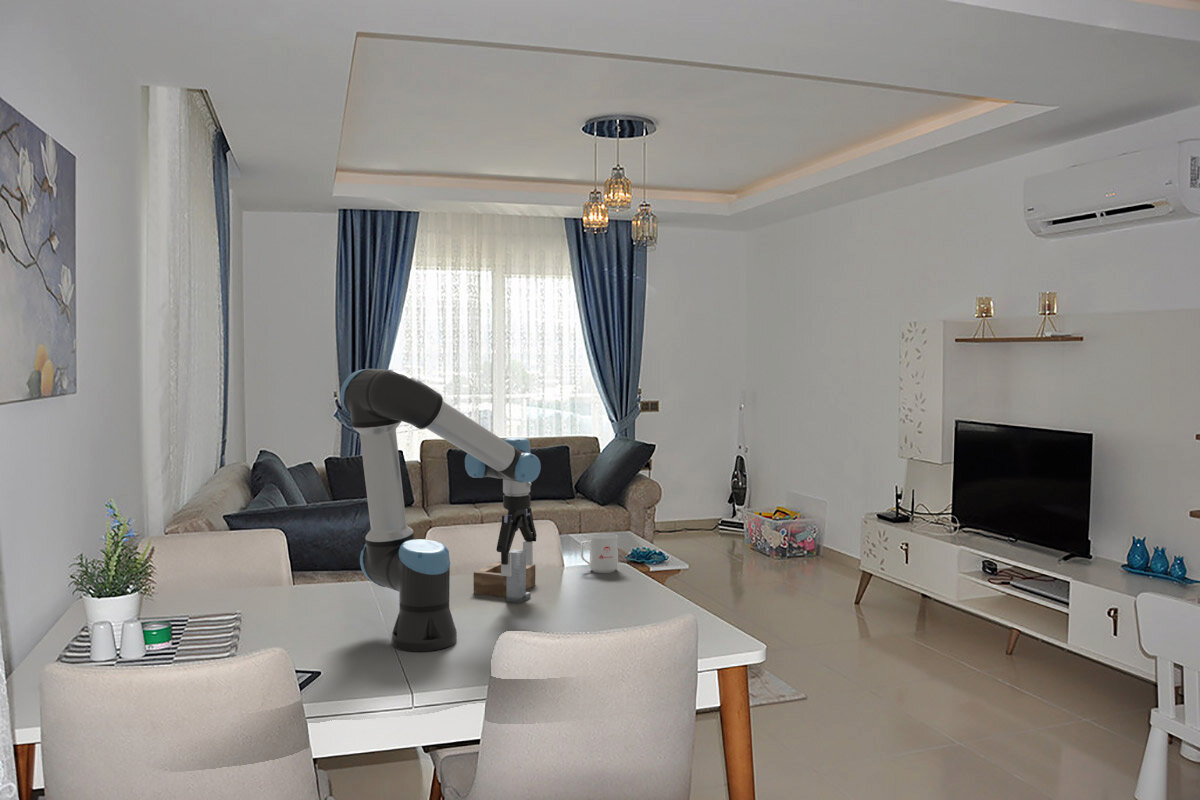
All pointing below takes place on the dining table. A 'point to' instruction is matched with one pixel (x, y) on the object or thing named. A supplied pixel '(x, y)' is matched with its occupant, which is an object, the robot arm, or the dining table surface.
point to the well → (498, 580)
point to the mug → (602, 552)
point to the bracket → (517, 578)
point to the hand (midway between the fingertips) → (517, 570)
